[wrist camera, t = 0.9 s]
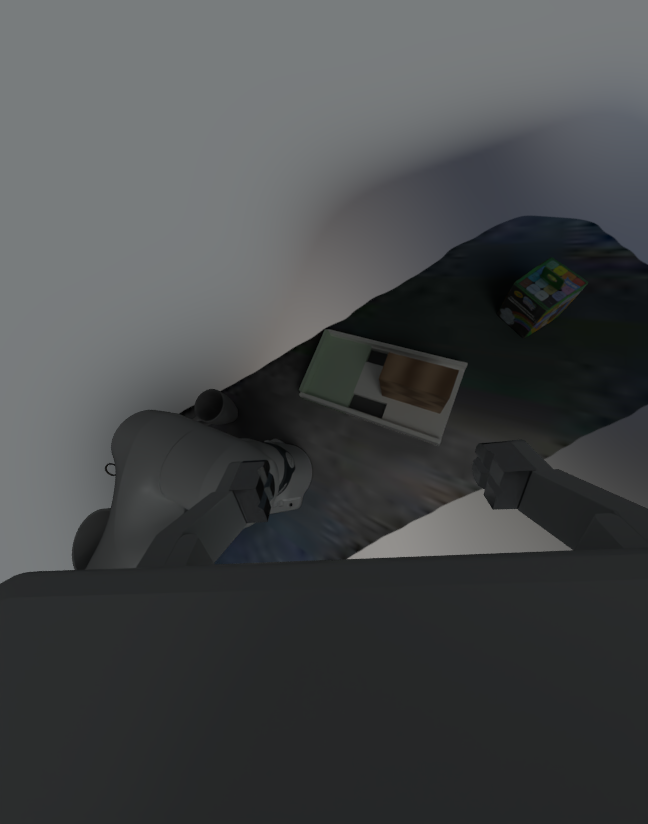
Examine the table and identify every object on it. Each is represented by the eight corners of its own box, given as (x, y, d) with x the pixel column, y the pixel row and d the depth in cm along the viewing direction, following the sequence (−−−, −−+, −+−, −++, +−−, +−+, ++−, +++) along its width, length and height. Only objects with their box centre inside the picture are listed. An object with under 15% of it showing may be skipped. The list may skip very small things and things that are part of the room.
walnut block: (448, 390, 63) (459, 370, 52) (440, 413, 62) (449, 398, 51) (390, 374, 68) (388, 352, 57) (381, 395, 67) (378, 377, 56)
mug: (236, 393, 80) (215, 382, 71) (248, 417, 77) (228, 408, 68) (204, 416, 81) (179, 408, 72) (215, 441, 78) (191, 435, 68)
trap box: (464, 368, 65) (469, 360, 61) (438, 446, 62) (441, 443, 58) (330, 334, 77) (326, 325, 72) (302, 398, 74) (297, 393, 70)
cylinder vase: (223, 526, 70) (137, 548, 47) (190, 561, 70) (87, 600, 47) (198, 490, 75) (108, 494, 51) (167, 523, 75) (63, 542, 51)
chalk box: (558, 317, 63) (604, 269, 49) (523, 340, 63) (558, 299, 49) (527, 291, 66) (562, 240, 52) (494, 313, 66) (520, 269, 53)
